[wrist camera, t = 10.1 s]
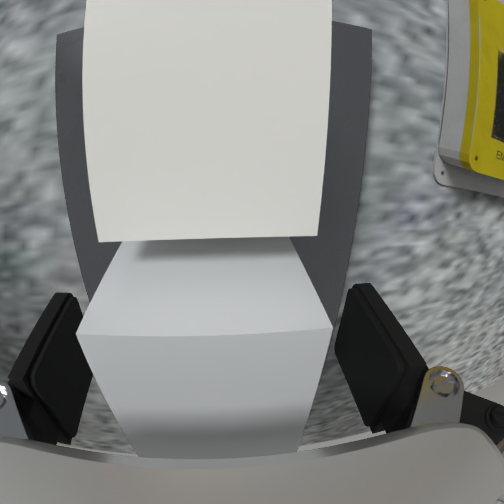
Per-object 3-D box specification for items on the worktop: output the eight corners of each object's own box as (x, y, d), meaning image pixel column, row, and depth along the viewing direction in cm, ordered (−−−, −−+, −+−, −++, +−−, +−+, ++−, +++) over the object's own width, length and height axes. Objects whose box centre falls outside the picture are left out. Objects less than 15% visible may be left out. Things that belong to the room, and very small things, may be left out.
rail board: (70, 39, 10) (46, 31, 8) (358, 34, 12) (382, 26, 10) (126, 377, 20) (121, 403, 18) (314, 370, 22) (322, 395, 20)
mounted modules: (145, 31, 9) (89, -18, 4) (277, 28, 10) (331, -24, 4) (182, 397, 18) (180, 479, 13) (259, 394, 19) (272, 475, 14)
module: (146, 200, 12) (75, 333, 5) (271, 196, 13) (340, 326, 6) (162, 315, 15) (142, 462, 8) (265, 312, 16) (299, 457, 9)
